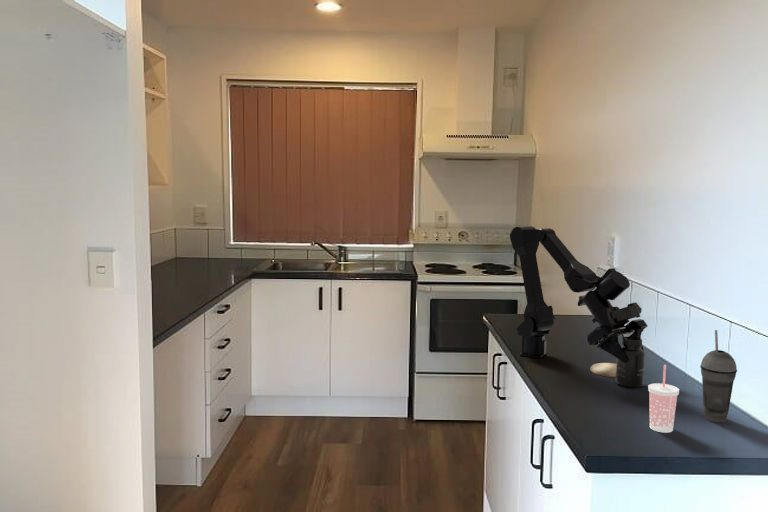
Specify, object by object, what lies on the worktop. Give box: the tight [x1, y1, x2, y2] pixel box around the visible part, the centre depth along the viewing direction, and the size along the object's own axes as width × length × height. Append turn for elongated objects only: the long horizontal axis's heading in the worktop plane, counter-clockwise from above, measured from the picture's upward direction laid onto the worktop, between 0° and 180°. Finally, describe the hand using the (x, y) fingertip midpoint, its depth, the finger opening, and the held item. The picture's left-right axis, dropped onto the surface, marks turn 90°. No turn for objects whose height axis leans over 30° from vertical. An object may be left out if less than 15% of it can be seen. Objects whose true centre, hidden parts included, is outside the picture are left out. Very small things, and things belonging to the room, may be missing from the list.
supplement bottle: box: [615, 336, 646, 388], centre depth 164 cm, size 7×7×12 cm
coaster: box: [589, 362, 617, 379], centre depth 176 cm, size 12×12×1 cm
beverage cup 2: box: [699, 329, 738, 423], centre depth 140 cm, size 7×7×20 cm
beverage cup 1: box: [647, 364, 680, 434], centre depth 135 cm, size 6×6×14 cm
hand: (635, 360), depth 163 cm, fingers closed on supplement bottle, 7 cm apart
